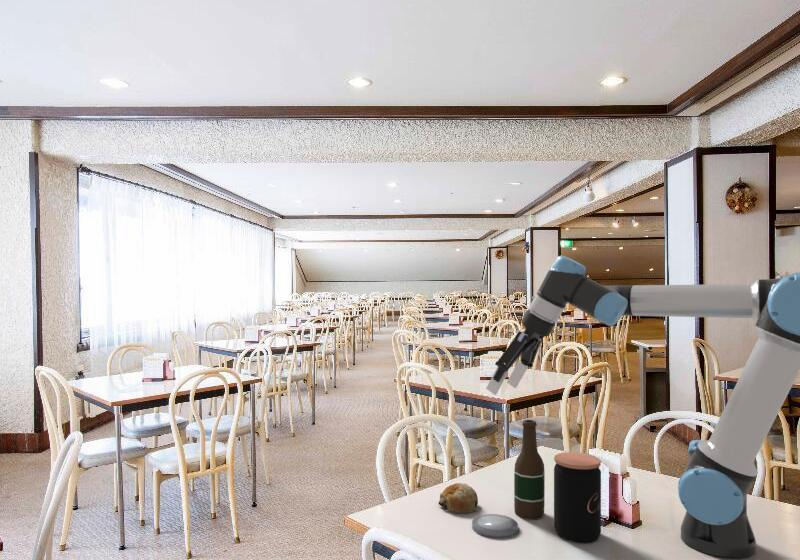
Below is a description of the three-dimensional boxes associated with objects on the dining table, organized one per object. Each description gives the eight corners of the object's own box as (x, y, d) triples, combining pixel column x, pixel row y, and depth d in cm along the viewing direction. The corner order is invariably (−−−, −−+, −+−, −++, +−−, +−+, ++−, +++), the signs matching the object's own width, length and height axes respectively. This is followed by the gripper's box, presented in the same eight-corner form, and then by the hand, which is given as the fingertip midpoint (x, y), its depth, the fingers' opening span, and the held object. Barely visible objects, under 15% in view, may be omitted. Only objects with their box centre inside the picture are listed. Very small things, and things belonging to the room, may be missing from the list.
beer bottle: (548, 520, 144) (548, 424, 145) (517, 520, 144) (517, 424, 145) (541, 508, 152) (541, 417, 152) (511, 508, 152) (511, 417, 152)
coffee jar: (594, 548, 129) (594, 468, 129) (548, 537, 135) (548, 460, 135) (605, 531, 138) (605, 456, 138) (561, 521, 144) (561, 449, 144)
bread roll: (469, 529, 148) (482, 502, 147) (433, 509, 149) (446, 482, 149) (472, 514, 157) (484, 489, 157) (438, 495, 159) (451, 470, 158)
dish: (514, 519, 145) (514, 513, 145) (521, 538, 134) (521, 532, 134) (470, 518, 145) (470, 513, 145) (474, 537, 134) (474, 531, 134)
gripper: (544, 308, 153) (507, 375, 158) (510, 308, 132) (468, 385, 137) (569, 322, 149) (530, 390, 154) (538, 325, 128) (494, 403, 133)
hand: (501, 388), depth 145 cm, fingers open, 13 cm apart
